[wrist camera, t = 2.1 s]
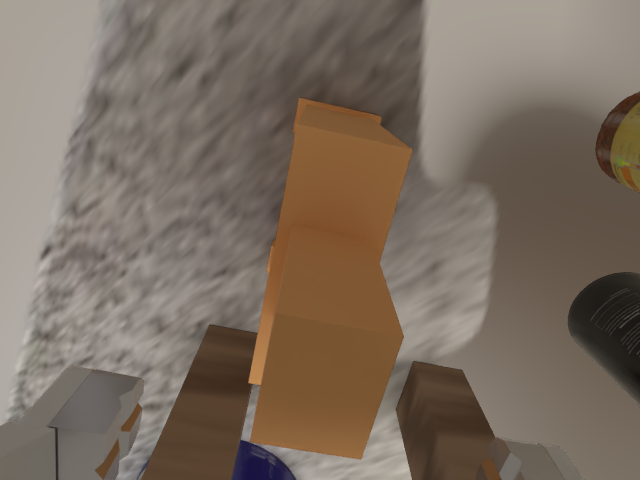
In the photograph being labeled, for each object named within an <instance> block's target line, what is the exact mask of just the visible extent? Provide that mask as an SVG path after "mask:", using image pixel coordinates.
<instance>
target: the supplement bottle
mask: <svg viewBox="0 0 640 480" xmlns="http://www.w3.org/2000/svg"><path fill="white" fill-rule="evenodd" d="M568 327H569V331H570V334H571V336H572V337H573V339H574V340H575V342H576V343H577V344H578V345H579V346H580V347H581V348H582V349H583V350H584V351H585V352H586V353H587V354H588V355H589V356H590V357H591V358H592V359H593V360H594V361H595V362H596V363H597V364H598V365H599V366H600V367H601V368H602V369H603V370H604V371H605V372H606V373H607V374H608V375H609V376H610V377H611V378H612V379H613V380H614V381H615V382H616V383H617V384H618V385H619V386H620V387H621V388H622V389H623V390H624V391H625V392H626V393H627V394H628V395H629V396H630V397H631V398H632V399H633V400H634V401H635V403H637V405H638V406H639V407H640V274H637V273H631V272H623V273H615V274H611V275H607V276H604V277H602V278H600V279H598V280H596V281H594V282H592V283H591V284H589V285H588V286H587V287H586V288H584V290H582V291H581V292H580V294H579V295H578V296H577V297H576V298H575V300H574V302H573V304H572V305H571V308H570V311H569V315H568Z"/></svg>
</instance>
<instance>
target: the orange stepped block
mask: <svg viewBox="0 0 640 480" xmlns="http://www.w3.org/2000/svg"><path fill="white" fill-rule="evenodd" d="M381 119H382V117H381V116H379V115H374V114H370V113H365V112H361V111H357V110H352V109H348V108H344V107H339V106H335V105H330V104H326V103H322V102H317V101H313V100H308V99H304V98H299V100H298V106H297V111H296V117H295V122H294V127H293V133H295V138H294V144H293V149H292V154H291V160H290V165H289V170H288V175H287V181H286V186H285V191H284V197H283V202H282V207H281V212H280V218H279V223H278V228H277V234H276V239H275V241H274V240H273V242H272V246H271V251H270V256H269V262H268V267H267V272H268V273H269V276H268V281H267V287H266V292H265V297H264V302H263V308H262V313H261V318H260V324H259V329H258V334H257V339H256V345H255V350H254V355H253V361H252V366H251V371H250V377H249V382H248V383H251V384H257V385H261V386H260V391H259V396H258V402H257V407H256V412H255V418H254V423H253V428H252V433H251V439H250V442H252V443H259V444H265V445H271V446H278V447H284V448H291V449H297V450H304V451H310V452H316V453H323V454H329V455H336V456H342V457H348V458H355V459H361V458H362V455H363V452H364V450H365V447H366V444H367V441H368V438H369V435H370V432H371V430H372V427H373V424H374V421H375V418H376V415H377V412H378V409H379V407H380V404H381V401H382V398H383V395H384V392H385V389H386V386H387V384H388V381H389V378H390V375H391V372H392V369H393V366H394V364H395V361H396V358H397V355H398V352H399V349H400V346H401V343H402V341H403V338H404V335H403V332H402V329H401V326H400V323H399V320H398V317H397V314H396V311H395V308H394V305H393V302H392V299H391V296H390V293H389V290H388V287H387V284H386V281H385V278H384V275H383V272H382V269H381V266H380V263H379V262H380V259H381V255H382V252H383V249H384V245H385V242H386V238H387V235H388V232H389V228H390V225H391V222H392V218H393V215H394V212H395V208H396V205H397V202H398V198H399V195H400V191H401V188H402V185H403V181H404V178H405V175H406V171H407V168H408V165H409V161H410V158H411V155H412V151H413V149H411V148H410V147H409V146H407V145H406V144H405V143H403V142H402V141H401V140H399V139H398V138H397V137H395V136H394V135H393V134H391V133H390V132H389V131H387V130H386V129H385V128H383V127H382V126H381V125H380V123H381Z"/></svg>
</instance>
